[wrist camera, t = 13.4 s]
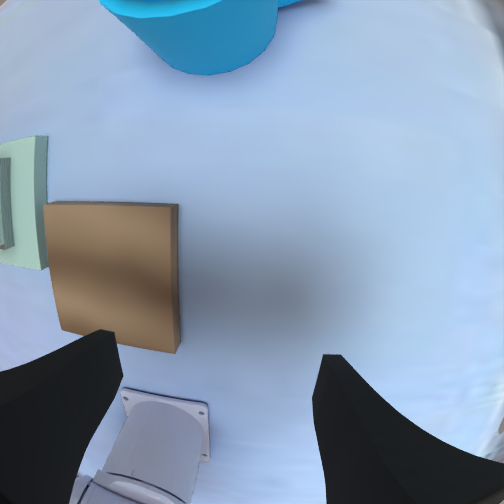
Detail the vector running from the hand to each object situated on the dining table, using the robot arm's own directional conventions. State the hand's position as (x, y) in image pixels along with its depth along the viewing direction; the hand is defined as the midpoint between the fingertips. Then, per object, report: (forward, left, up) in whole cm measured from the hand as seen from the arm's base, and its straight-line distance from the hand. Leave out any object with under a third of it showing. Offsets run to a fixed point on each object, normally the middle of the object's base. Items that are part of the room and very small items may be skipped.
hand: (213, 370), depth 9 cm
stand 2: (-1, +9, -10) cm, 13 cm away
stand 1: (+4, +20, -10) cm, 23 cm away
